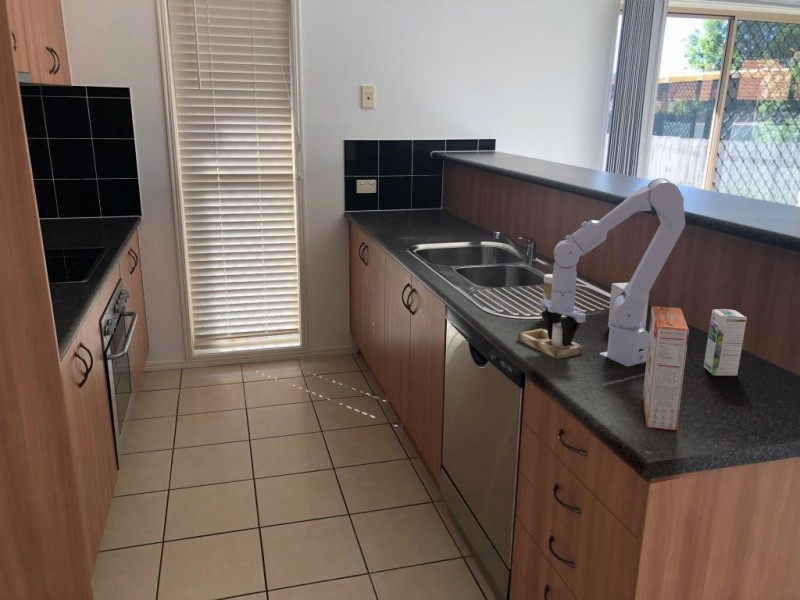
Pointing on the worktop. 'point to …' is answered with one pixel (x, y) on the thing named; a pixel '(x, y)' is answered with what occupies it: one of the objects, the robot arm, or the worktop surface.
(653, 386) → the cracker box
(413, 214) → the worktop surface
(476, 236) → the worktop surface
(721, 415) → the worktop surface
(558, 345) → the salt shaker
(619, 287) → the small box
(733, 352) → the syrup box
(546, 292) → the sprinkles bottle
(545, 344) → the caddy
